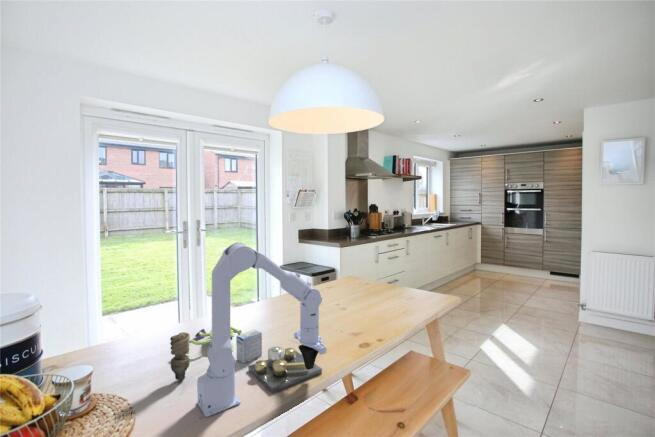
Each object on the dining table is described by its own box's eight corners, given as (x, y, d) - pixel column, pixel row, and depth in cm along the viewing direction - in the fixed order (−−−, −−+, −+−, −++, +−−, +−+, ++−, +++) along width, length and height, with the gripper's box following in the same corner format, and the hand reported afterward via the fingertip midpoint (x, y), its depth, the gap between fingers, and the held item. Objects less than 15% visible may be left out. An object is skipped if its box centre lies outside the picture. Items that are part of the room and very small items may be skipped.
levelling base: (272, 393, 94) (272, 371, 93) (248, 370, 106) (248, 350, 106) (321, 373, 105) (321, 353, 104) (295, 354, 117) (295, 336, 117)
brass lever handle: (272, 376, 99) (272, 367, 99) (273, 368, 104) (272, 360, 104) (309, 373, 101) (309, 364, 101) (308, 366, 105) (308, 357, 105)
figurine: (175, 364, 111) (174, 348, 111) (199, 332, 138) (198, 319, 137) (230, 361, 113) (229, 346, 112) (243, 330, 139) (243, 318, 139)
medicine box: (254, 351, 119) (254, 328, 119) (262, 355, 117) (262, 331, 116) (236, 359, 113) (235, 335, 113) (244, 364, 110) (243, 339, 110)
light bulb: (193, 376, 103) (192, 329, 102) (186, 386, 97) (185, 337, 96) (175, 376, 103) (174, 330, 102) (167, 386, 97) (166, 337, 96)
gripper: (334, 329, 97) (334, 373, 98) (306, 315, 109) (307, 355, 109) (315, 335, 93) (315, 381, 94) (288, 320, 104) (289, 361, 105)
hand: (309, 368), depth 101 cm, fingers closed
